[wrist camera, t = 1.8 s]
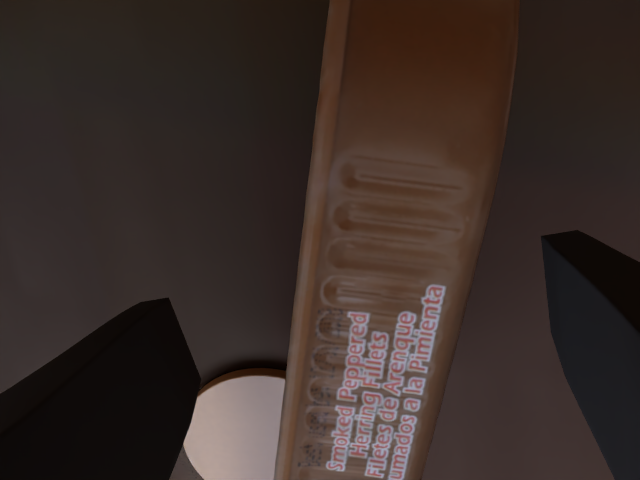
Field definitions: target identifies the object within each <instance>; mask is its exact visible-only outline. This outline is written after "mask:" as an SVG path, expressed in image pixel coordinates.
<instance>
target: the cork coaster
mask: <svg viewBox="0 0 640 480" xmlns="http://www.w3.org/2000/svg"><path fill="white" fill-rule="evenodd" d="M285 379H286V371H284V370H278V369H271V368H250V369H242V370H237V371H233V372H230V373H227V374H224V375H222V376H220V377H218V378H216V379H214V380H212V381H211V382H209V383H208V384H206V385H205V386H204V387H203V388H202V389H201V390H200V391H199V392H198V396H197V400H196V405H195V409H194V413H193V417H192V421H191V424H190V427H189V430H188V432H187V435H186V438H185V440H184V443H183V444H184V448H185V451H186V454H187V456H188V458H189V460H190V462H191V464H192V465H193V466H194V468H195V469H196V471H197V472H198V473H199V474H200V475H201V476H202V477H203V479H205V480H274V472H275V462H276V456H277V447H278V439H279V429H280V420H281V411H282V401H283V394H284V387H285Z"/></svg>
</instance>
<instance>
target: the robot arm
mask: <svg viewBox="0 0 640 480" xmlns="http://www.w3.org/2000/svg"><path fill="white" fill-rule="evenodd" d="M541 240H542V250H543V259H544V269H545V279H546V288H547V298H548V308H549V318H550V327H551V333H552V337H553V340H554V343H555V346H556V349H557V352H558V356H559V359H560V362H561V365H562V368H563V371H564V374H565V377H566V379H567V381H568V383H569V385H570V388H571V390H572V392H573V394H574V396H575V398H576V400H577V402H578V404H579V406H580V409H581V411H582V413H583V415H584V417H585V419H586V421H587V423H588V425H589V427H590V429H591V431H592V433H593V435H594V437H595V439H596V441H597V444H598V446H599V448H600V450H601V452H602V454H603V456H604V458H605V460H606V462H607V464H608V466H609V468H610V470H611V472H612V474H613V476H614V479H615V480H640V262H638V261H636V260H634V259H632V258H630V257H628V256H626V255H624V254H622V253H621V252H619V251H617V250H615V249H613V248H611V247H609V246H607V245H606V244H604V243H602V242H600V241H598V240H596V239H594V238H593V237H591V236H589V235H587V234H585V233H583V232H580V231H578V230H575V231H569V232H563V233H557V234H551V235H545V236H541ZM200 381H201V378H200V375H199V373H198V370H197V368H196V365H195V363H194V360H193V358H192V355H191V353H190V350H189V348H188V345H187V343H186V340H185V338H184V335H183V333H182V330H181V328H180V325H179V322H178V320H177V317H176V315H175V312H174V310H173V307H172V305H171V302H170V300H169V298H163V299H157V300H151V301H145V302H140V303H138V304H136V305H134V306H132V307H131V308H129V309H127V310H125V311H124V312H122V313H120V314H119V315H117V316H116V317H114V318H113V319H111V320H110V321H108V322H107V323H105V324H104V325H102V326H101V327H99V328H98V329H97V330H95V331H94V332H92V333H91V334H89V335H88V336H86V337H85V338H84V339H82V340H81V341H79V342H78V343H76V344H75V345H74V346H72V347H71V348H69V349H68V350H66V351H65V352H64V353H62V354H61V355H59V356H58V357H56V358H55V359H53V360H52V361H50V362H49V363H47V364H46V365H44V366H43V367H41V368H40V369H38V370H37V371H35V372H34V373H32V374H31V375H29V376H27V377H26V378H24V379H23V380H21V381H20V382H18V383H17V384H15V385H14V386H12V387H11V388H9V389H7V390H6V391H4V392H3V393H1V394H0V480H169V478H170V476H171V473H172V471H173V468H174V466H175V463H176V461H177V458H178V456H179V453H180V451H181V448H182V445H183V443H184V440H185V438H186V435H187V432H188V430H189V427H190V424H191V421H192V417H193V413H194V409H195V405H196V400H197V396H198V391H199V386H200Z"/></svg>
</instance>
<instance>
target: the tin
mask: <svg viewBox="0 0 640 480" xmlns="http://www.w3.org/2000/svg"><path fill="white" fill-rule="evenodd" d="M519 3H520V0H330V5H329V12H328V18H327V25H326V35H325V41H324V48H323V60H322V67H321V75H320V91H319V98H318V103H317V108H316V120H315V128H314V134H313V138H312V139H313V148H312V155H311V163H310V171H309V179H308V186H307V193H306V202H305V214H304V223H303V231H302V238H301V246H300V254H299V263H298V272H297V283H296V290H295V297H294V304H293V314H292V321H291V330H290V343H289V351H288V358H287V369H286V379H285V387H284V394H283V401H282V411H281V420H280V429H279V439H278V447H277V456H276V462H275V472H274V480H421V479H422V475H423V472H424V468H425V464H426V461H427V456H428V452H429V448H430V444H431V441H432V438H433V434H434V430H435V426H436V422H437V418H438V415H439V412H440V408H441V404H442V399H443V395H444V391H445V387H446V383H447V379H448V375H449V372H450V368H451V364H452V361H453V357H454V353H455V349H456V345H457V341H458V337H459V333H460V329H461V325H462V321H463V318H464V313H465V309H466V305H467V300H468V296H469V293H470V289H471V286H472V283H473V279H474V274H475V268H476V264H477V261H478V257H479V253H480V249H481V245H482V241H483V237H484V233H485V229H486V225H487V221H488V217H489V213H490V209H491V205H492V201H493V196H494V192H495V188H496V184H497V179H498V174H499V169H500V164H501V159H502V154H503V149H504V144H505V139H506V133H507V126H508V120H509V113H510V106H511V99H512V92H513V84H514V76H515V68H516V60H517V51H518V27H519Z"/></svg>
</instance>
